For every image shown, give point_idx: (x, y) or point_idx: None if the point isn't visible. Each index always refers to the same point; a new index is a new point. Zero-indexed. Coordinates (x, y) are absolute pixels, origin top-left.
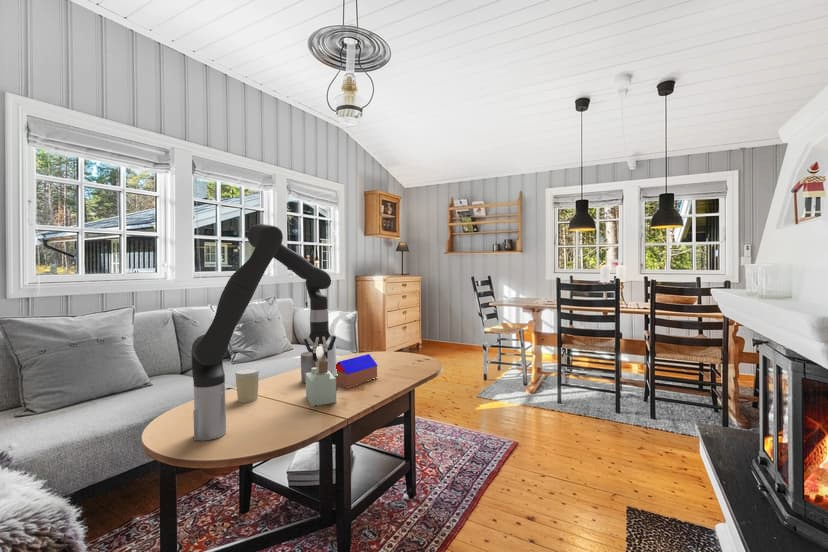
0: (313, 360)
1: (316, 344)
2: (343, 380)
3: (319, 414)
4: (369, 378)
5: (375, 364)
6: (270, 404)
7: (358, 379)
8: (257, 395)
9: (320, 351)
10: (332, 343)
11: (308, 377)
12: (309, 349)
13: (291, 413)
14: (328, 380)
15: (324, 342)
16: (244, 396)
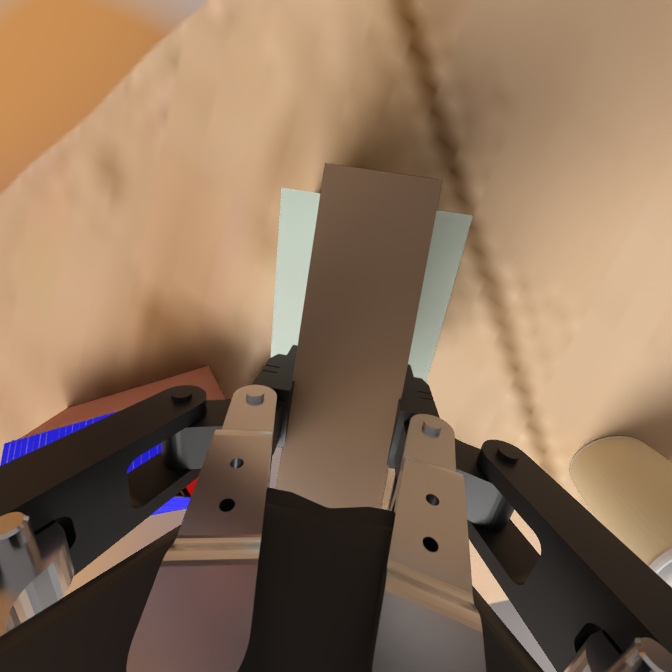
0: (421, 378)
1: (422, 503)
2: None
3: (454, 53)
4: (94, 403)
5: (9, 451)
6: (572, 354)
7: (140, 393)
8: (586, 460)
9: (320, 458)
10: (87, 444)
11: (440, 330)
12: (524, 471)
13: (561, 167)
14: None
15: (235, 492)
16: (663, 457)
